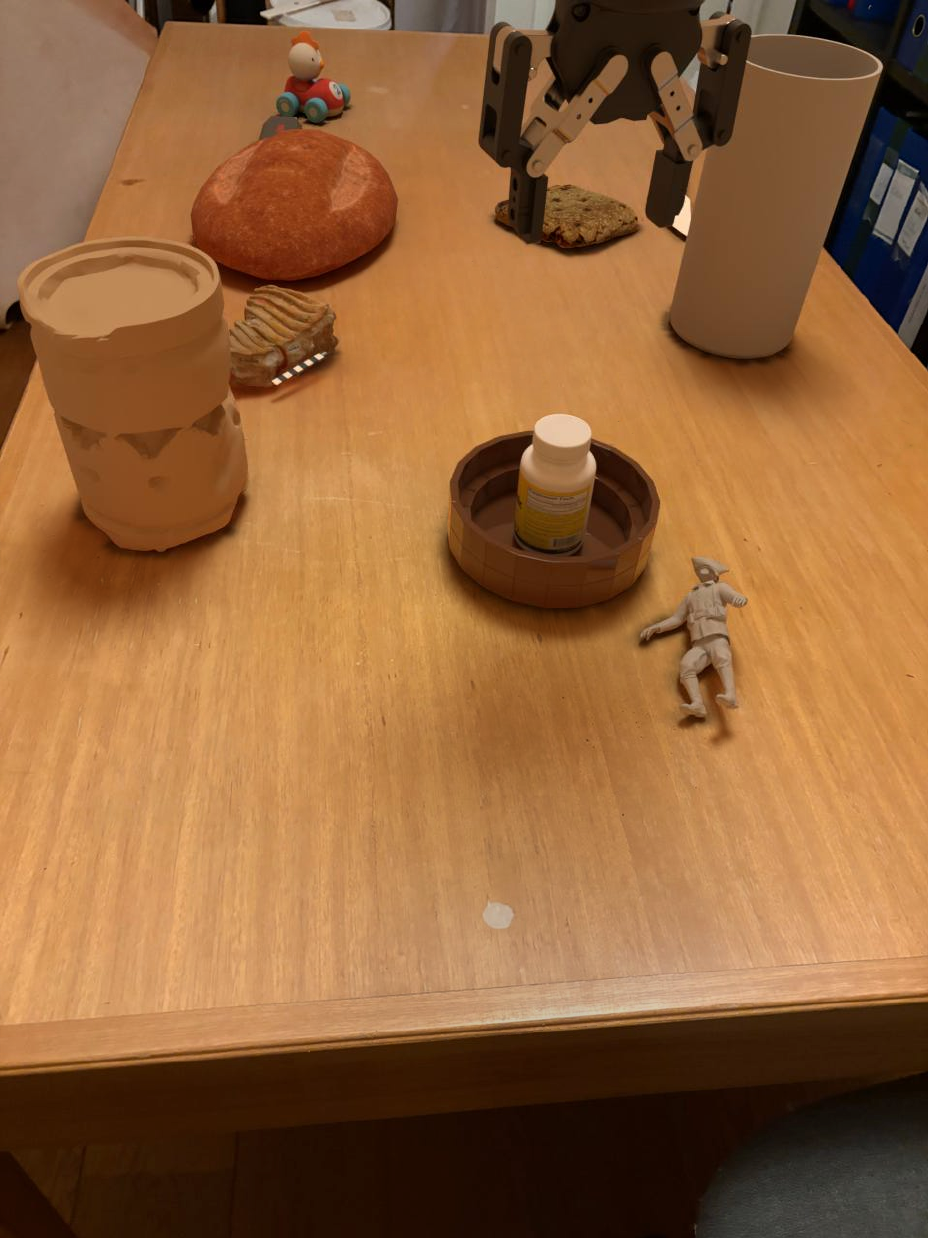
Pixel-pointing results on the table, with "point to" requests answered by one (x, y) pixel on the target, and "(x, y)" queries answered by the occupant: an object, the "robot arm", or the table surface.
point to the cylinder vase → (771, 194)
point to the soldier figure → (705, 633)
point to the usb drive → (278, 126)
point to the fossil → (279, 337)
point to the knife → (683, 218)
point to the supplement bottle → (555, 487)
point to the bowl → (540, 580)
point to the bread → (294, 206)
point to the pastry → (579, 217)
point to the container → (140, 385)
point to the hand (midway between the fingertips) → (594, 229)
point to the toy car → (310, 84)
